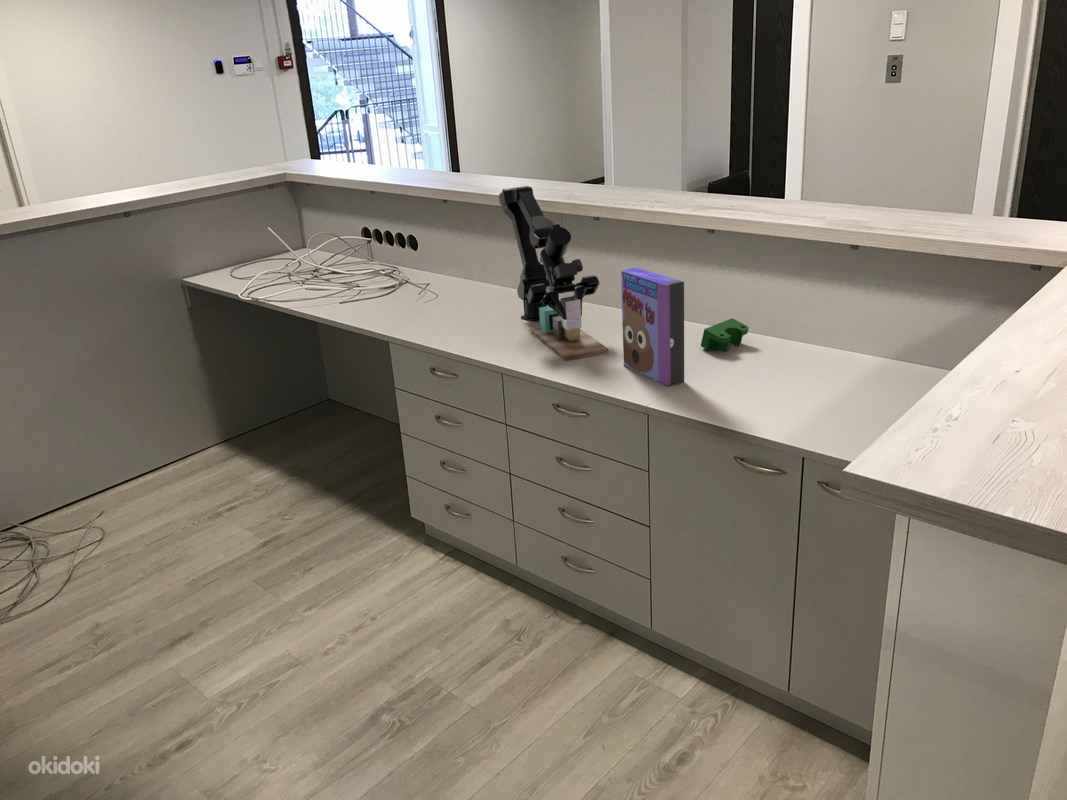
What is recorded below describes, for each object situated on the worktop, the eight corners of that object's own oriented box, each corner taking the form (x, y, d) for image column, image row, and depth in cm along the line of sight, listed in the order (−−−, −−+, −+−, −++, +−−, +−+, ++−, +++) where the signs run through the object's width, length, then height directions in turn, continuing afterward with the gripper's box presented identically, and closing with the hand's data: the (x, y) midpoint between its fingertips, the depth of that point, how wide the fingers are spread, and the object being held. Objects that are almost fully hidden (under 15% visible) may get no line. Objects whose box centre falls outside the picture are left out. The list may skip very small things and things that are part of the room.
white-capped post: (547, 325, 241) (544, 288, 237) (560, 322, 242) (558, 285, 238) (567, 341, 228) (565, 302, 224) (582, 338, 229) (580, 299, 225)
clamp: (720, 368, 221) (718, 343, 214) (702, 357, 224) (699, 333, 217) (751, 340, 224) (750, 315, 218) (733, 331, 228) (731, 305, 221)
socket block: (540, 328, 242) (539, 307, 240) (564, 324, 244) (562, 303, 242) (545, 332, 239) (544, 311, 236) (569, 328, 241) (568, 307, 238)
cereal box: (623, 366, 214) (620, 270, 205) (639, 361, 216) (637, 266, 207) (667, 387, 200) (666, 284, 191) (684, 382, 202) (684, 280, 193)
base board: (531, 332, 243) (531, 329, 242) (571, 325, 246) (571, 322, 246) (565, 360, 220) (564, 356, 220) (608, 352, 224) (608, 348, 224)
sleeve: (553, 336, 236) (552, 317, 233) (572, 333, 237) (571, 314, 235) (559, 340, 232) (557, 321, 230) (577, 337, 234) (576, 317, 231)
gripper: (527, 254, 222) (545, 307, 217) (595, 244, 227) (614, 296, 222) (519, 278, 232) (536, 329, 227) (584, 268, 237) (603, 317, 232)
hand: (573, 317), depth 226 cm, fingers closed on white-capped post, 4 cm apart
